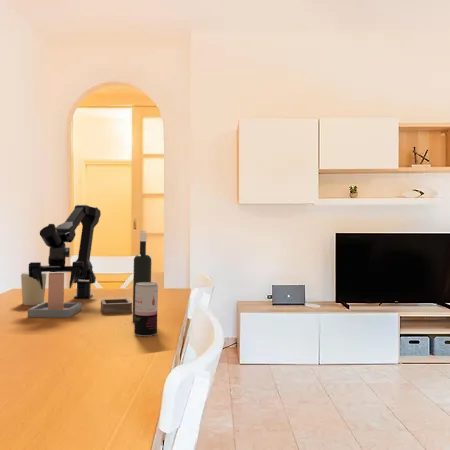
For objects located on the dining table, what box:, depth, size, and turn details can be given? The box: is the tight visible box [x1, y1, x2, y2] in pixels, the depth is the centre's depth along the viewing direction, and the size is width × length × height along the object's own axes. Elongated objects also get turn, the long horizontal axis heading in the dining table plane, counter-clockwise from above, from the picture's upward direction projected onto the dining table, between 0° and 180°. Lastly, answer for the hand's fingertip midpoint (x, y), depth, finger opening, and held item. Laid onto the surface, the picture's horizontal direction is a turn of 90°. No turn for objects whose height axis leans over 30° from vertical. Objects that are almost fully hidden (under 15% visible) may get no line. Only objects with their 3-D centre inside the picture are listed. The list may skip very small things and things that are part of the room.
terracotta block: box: [47, 272, 65, 309], centre depth 161 cm, size 5×5×13 cm
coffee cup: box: [20, 271, 48, 306], centre depth 179 cm, size 9×9×12 cm
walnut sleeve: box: [100, 298, 133, 315], centre depth 167 cm, size 10×10×4 cm
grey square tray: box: [27, 301, 83, 319], centre depth 161 cm, size 14×14×2 cm
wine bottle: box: [132, 230, 152, 324], centre depth 151 cm, size 6×6×30 cm
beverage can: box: [133, 281, 159, 337], centre depth 134 cm, size 7×7×15 cm
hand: (56, 288), depth 160 cm, fingers open, 9 cm apart
